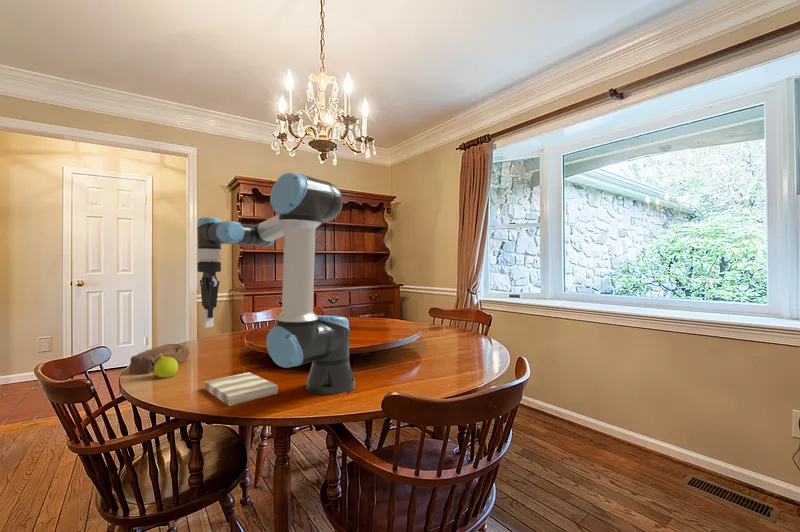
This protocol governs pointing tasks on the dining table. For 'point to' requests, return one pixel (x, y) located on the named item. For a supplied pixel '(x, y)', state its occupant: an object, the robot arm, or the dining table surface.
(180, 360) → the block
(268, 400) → the dining table surface
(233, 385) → the board
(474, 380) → the dining table surface
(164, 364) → the ornament
